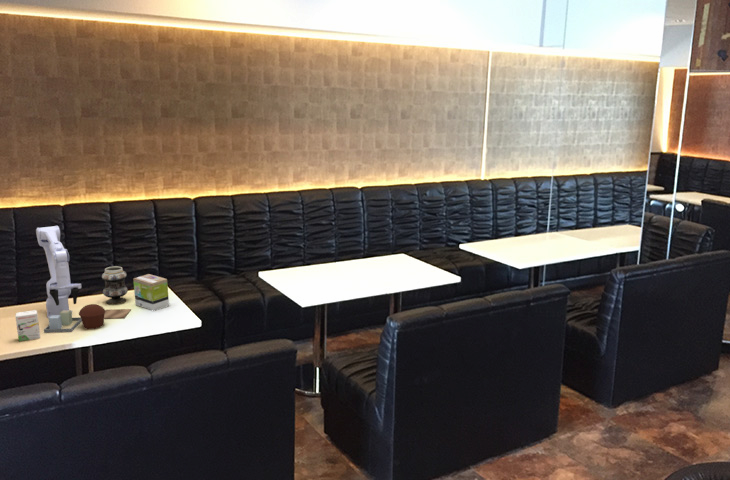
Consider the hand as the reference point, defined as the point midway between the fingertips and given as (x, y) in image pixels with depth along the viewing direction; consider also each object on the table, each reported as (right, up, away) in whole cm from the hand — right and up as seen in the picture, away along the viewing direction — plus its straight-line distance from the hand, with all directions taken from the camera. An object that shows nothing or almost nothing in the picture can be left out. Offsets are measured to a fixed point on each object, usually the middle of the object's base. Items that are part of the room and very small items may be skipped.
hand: (66, 304), depth 298 cm
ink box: (-9, -14, -15) cm, 22 cm away
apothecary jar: (+10, -2, +33) cm, 35 cm away
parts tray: (-1, -10, -1) cm, 10 cm away
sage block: (-1, -9, +2) cm, 10 cm away
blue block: (-3, -11, -4) cm, 12 cm away
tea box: (+31, -4, +28) cm, 42 cm away
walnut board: (+17, -6, +15) cm, 23 cm away
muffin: (+13, -10, 0) cm, 16 cm away
